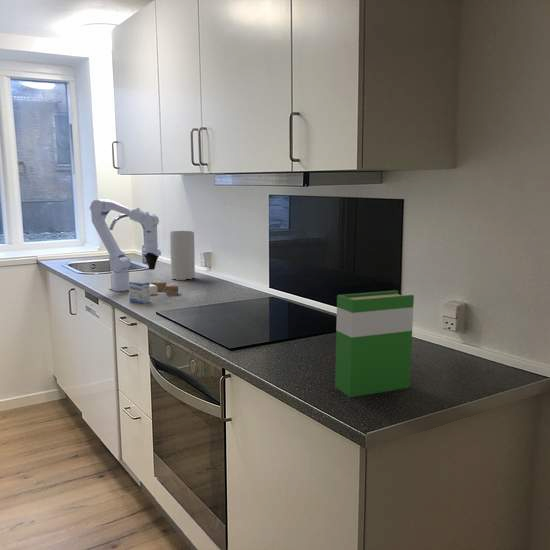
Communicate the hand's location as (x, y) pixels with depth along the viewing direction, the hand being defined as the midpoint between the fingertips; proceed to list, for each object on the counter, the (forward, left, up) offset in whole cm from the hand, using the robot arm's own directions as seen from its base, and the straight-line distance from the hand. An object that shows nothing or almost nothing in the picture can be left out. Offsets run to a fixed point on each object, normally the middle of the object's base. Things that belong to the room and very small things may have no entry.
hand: (151, 269), depth 278 cm
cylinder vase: (-23, +30, -11) cm, 39 cm away
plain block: (+5, -4, -11) cm, 12 cm away
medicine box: (+19, -16, -11) cm, 27 cm away
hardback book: (+153, -18, -11) cm, 154 cm away
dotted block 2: (+11, +4, -11) cm, 16 cm away
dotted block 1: (-1, +4, -11) cm, 11 cm away
